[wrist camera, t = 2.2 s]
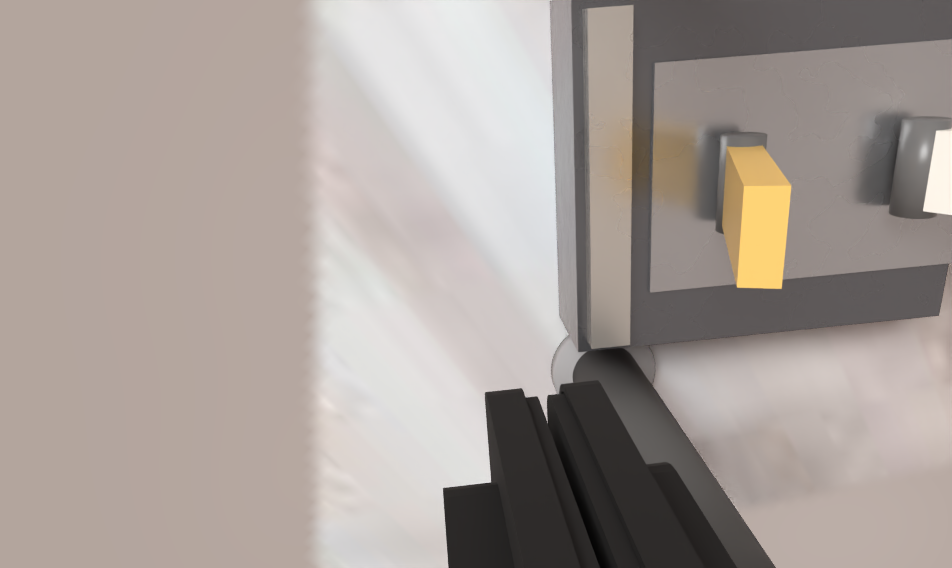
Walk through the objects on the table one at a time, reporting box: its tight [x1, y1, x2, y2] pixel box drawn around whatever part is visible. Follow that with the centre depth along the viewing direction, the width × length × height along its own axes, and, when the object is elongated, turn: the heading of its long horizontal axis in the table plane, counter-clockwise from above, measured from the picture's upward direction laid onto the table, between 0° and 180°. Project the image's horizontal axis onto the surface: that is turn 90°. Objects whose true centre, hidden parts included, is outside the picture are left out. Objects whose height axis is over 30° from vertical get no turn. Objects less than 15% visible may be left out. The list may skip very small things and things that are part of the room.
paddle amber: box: [715, 132, 791, 289], centre depth 22 cm, size 2×4×8 cm, turn 4°
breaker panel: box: [550, 0, 952, 352], centre depth 28 cm, size 16×14×5 cm
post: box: [551, 335, 776, 568], centre depth 26 cm, size 5×5×15 cm
